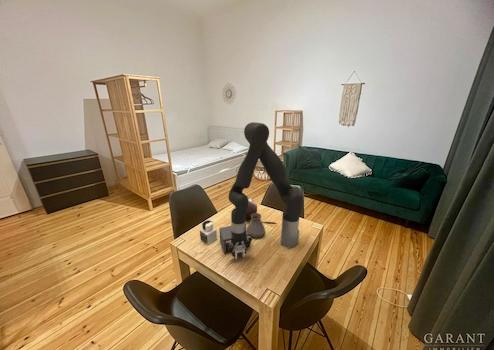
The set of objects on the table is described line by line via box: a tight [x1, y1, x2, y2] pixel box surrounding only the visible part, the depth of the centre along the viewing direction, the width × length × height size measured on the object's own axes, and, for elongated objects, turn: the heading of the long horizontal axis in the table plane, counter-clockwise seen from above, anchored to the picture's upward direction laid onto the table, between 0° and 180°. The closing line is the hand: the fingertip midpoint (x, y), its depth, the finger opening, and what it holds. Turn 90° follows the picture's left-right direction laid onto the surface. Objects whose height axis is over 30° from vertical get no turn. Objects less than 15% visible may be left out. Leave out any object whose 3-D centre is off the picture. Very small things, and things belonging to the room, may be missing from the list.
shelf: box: [218, 225, 249, 255], centre depth 116 cm, size 11×14×10 cm
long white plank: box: [229, 242, 246, 260], centre depth 112 cm, size 16×5×5 cm, turn 19°
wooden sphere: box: [246, 197, 258, 221], centre depth 141 cm, size 15×15×15 cm
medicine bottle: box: [199, 219, 218, 245], centre depth 120 cm, size 7×7×12 cm
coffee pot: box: [246, 212, 277, 238], centre depth 121 cm, size 21×12×15 cm, turn 44°
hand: (239, 255), depth 107 cm, fingers closed on long white plank, 5 cm apart
